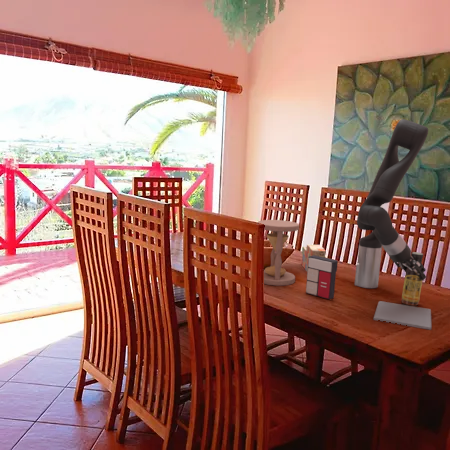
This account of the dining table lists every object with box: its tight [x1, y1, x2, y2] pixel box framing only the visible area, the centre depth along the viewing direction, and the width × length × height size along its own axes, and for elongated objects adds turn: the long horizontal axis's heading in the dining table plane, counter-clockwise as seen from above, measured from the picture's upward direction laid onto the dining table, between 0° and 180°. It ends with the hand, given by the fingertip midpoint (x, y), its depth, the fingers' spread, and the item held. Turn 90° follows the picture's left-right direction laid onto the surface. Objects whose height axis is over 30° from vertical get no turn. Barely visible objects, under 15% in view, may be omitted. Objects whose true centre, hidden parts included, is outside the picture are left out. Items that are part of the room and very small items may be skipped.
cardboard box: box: [301, 244, 327, 272], centre depth 219 cm, size 21×6×12 cm, turn 2°
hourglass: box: [257, 219, 300, 287], centre depth 199 cm, size 18×18×25 cm
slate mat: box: [373, 300, 432, 331], centre depth 163 cm, size 18×20×1 cm
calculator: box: [305, 255, 339, 300], centre depth 180 cm, size 11×4×15 cm, turn 47°
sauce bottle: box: [401, 251, 424, 307], centre depth 174 cm, size 6×6×20 cm
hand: (417, 276), depth 175 cm, fingers closed on sauce bottle, 6 cm apart
